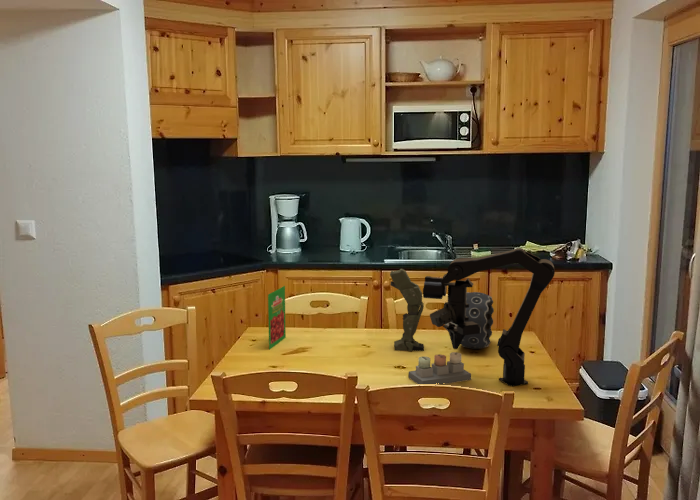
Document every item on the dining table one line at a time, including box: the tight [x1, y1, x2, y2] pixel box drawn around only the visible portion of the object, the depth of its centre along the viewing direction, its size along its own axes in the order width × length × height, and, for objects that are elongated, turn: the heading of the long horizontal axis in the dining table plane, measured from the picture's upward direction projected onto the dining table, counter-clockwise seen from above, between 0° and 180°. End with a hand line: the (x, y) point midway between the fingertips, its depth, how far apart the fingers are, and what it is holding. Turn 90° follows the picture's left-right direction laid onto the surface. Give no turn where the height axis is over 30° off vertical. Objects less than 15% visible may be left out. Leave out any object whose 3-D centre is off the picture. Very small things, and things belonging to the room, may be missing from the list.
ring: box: [460, 291, 495, 350], centre depth 231 cm, size 11×20×20 cm, turn 160°
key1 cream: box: [449, 351, 463, 364], centre depth 203 cm, size 4×4×5 cm
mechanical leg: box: [389, 268, 425, 352], centre depth 229 cm, size 14×7×30 cm, turn 84°
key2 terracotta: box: [433, 353, 447, 366], centre depth 201 cm, size 4×4×5 cm
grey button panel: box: [408, 360, 472, 385], centre depth 201 cm, size 9×17×4 cm, turn 112°
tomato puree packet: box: [267, 285, 287, 350], centre depth 235 cm, size 15×1×20 cm, turn 163°
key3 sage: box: [417, 356, 431, 369], centre depth 199 cm, size 4×4×5 cm
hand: (455, 349), depth 202 cm, fingers closed
